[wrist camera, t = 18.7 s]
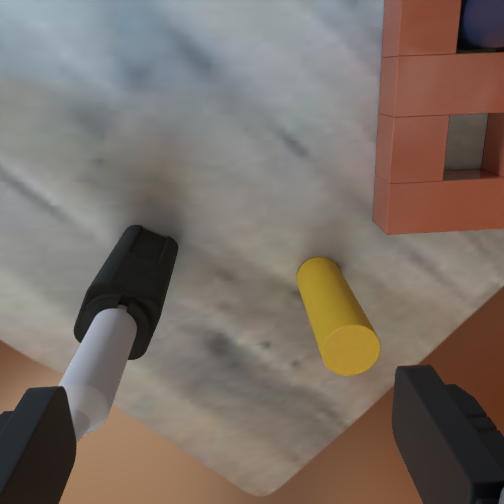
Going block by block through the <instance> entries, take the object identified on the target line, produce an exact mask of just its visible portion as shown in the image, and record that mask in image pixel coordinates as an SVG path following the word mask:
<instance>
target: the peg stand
mask: <svg viewBox="0 0 504 504" xmlns="http://www.w3.org/2000/svg"><path fill="white" fill-rule="evenodd" d="M461 1H462V0H385V4H384V22H383V40H382V57H383V58H382V61H381V79H380V97H379V114H378V132H377V151H376V169H375V174H376V175H375V190H374V209H373V222H374V223H375V224H376V225H377V226H378V227H379V228H380V229H381V230H382V231H383V232H384V233H385V234H386V235H390V234H409V233H429V232H448V231H467V230H486V229H504V47H498V48H497V52H488V53H463V54H456V48H457V39H458V29H459V20H460V10H461ZM482 113H489V115H488V123H487V130H486V138H485V145H484V153H483V160H482V169H472V170H451V171H444V162H445V153H446V143H447V134H448V124H449V115H460V114H482Z"/></svg>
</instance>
